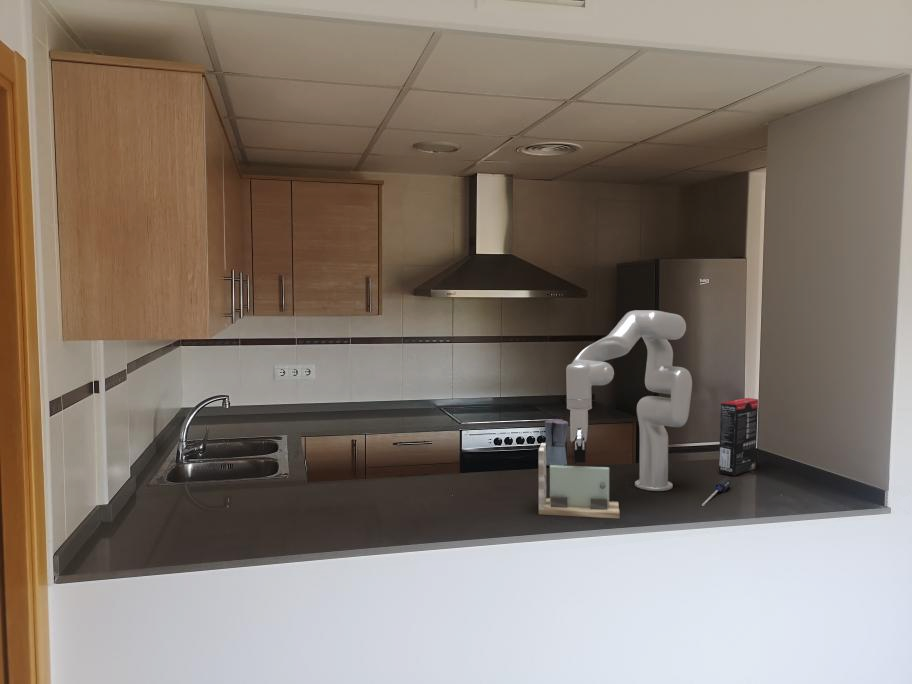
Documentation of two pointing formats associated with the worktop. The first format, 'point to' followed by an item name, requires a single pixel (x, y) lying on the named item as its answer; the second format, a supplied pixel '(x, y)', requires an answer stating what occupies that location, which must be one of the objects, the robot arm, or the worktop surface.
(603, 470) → the door
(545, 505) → the hinge base
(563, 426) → the moka pot
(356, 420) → the worktop surface
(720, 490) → the screwdriver
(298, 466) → the worktop surface
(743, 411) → the graphics card box
